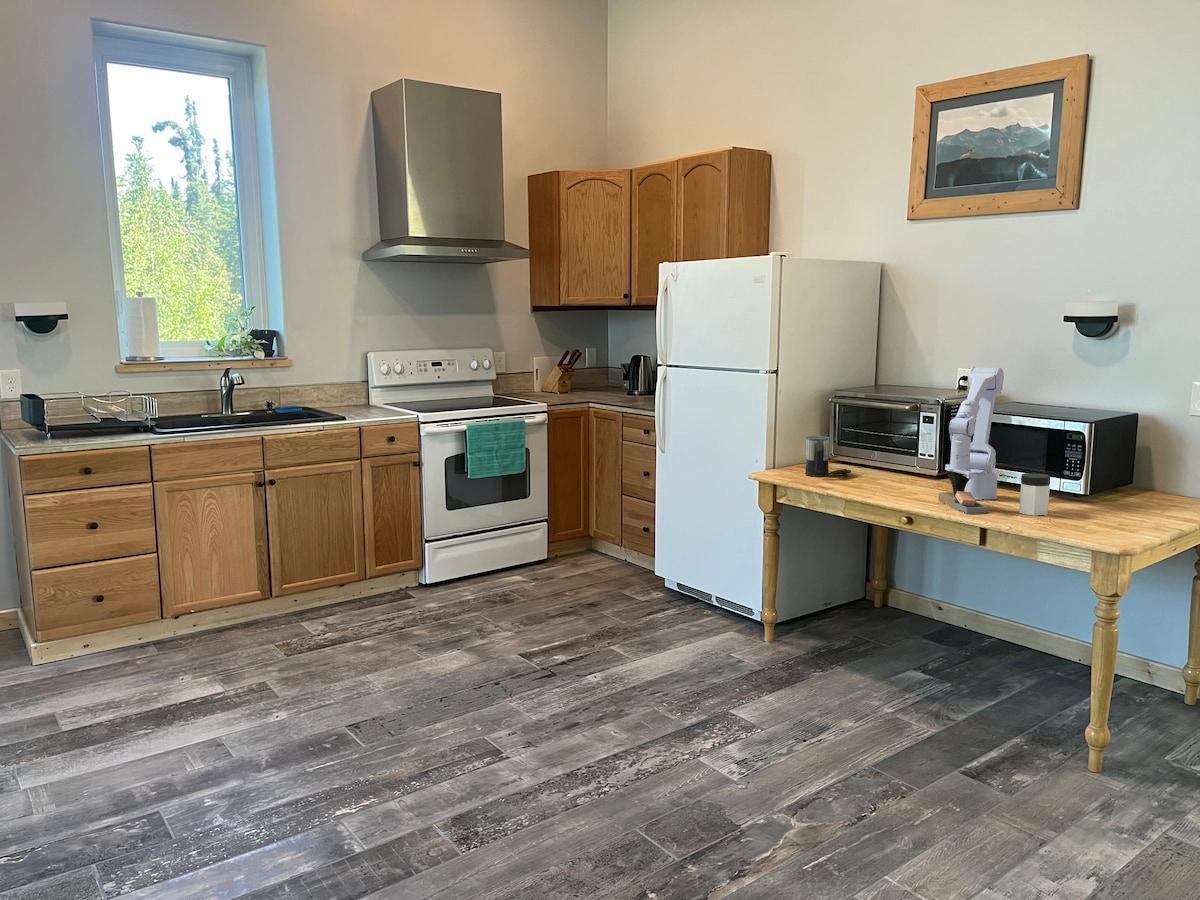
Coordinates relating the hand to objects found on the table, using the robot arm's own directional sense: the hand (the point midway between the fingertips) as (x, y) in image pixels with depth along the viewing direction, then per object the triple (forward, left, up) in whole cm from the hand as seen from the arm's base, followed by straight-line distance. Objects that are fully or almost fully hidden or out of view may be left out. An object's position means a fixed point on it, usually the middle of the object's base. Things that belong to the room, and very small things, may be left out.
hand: (958, 496), depth 280 cm
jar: (-19, +11, -4) cm, 22 cm away
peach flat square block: (-1, +3, -1) cm, 3 cm away
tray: (-2, +5, -4) cm, 7 cm away
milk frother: (+22, -58, -4) cm, 62 cm away
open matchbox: (-2, -4, -4) cm, 5 cm away
